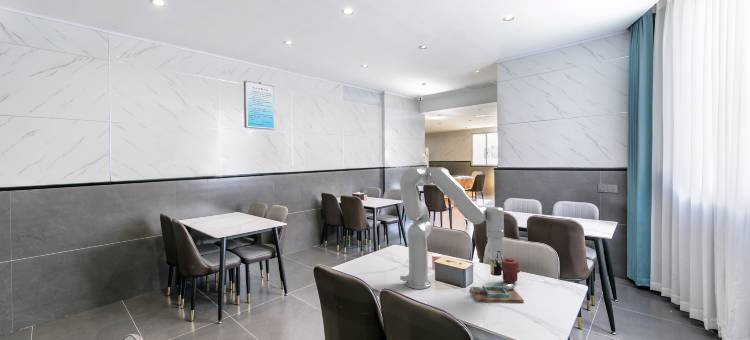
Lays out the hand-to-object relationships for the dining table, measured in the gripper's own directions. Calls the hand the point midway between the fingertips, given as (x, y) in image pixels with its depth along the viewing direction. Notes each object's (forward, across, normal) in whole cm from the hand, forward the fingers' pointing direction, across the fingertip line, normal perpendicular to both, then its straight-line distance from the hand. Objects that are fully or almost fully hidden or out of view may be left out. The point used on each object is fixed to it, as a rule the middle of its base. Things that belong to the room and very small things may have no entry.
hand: (495, 272), depth 149 cm
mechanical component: (+11, -17, +12) cm, 23 cm away
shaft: (+11, -4, +7) cm, 13 cm away
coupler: (+1, 0, 0) cm, 1 cm away
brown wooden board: (+11, 0, 0) cm, 11 cm away
